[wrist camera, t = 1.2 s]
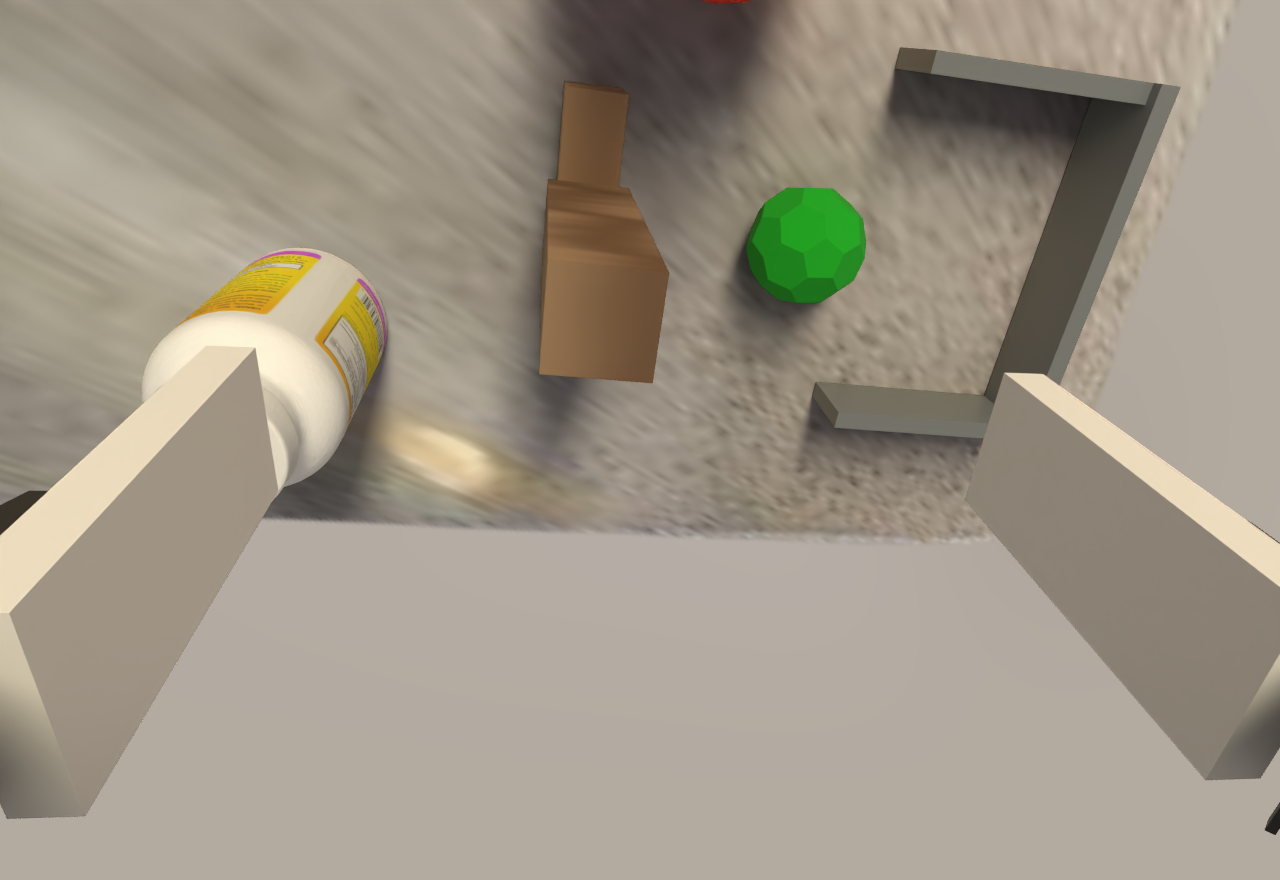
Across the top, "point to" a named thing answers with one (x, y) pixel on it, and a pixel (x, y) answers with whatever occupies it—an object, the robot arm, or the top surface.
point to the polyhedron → (806, 244)
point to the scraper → (597, 252)
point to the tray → (1066, 254)
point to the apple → (725, 1)
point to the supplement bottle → (291, 348)
